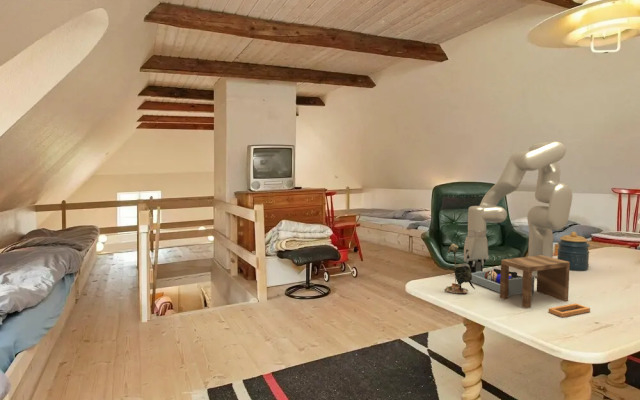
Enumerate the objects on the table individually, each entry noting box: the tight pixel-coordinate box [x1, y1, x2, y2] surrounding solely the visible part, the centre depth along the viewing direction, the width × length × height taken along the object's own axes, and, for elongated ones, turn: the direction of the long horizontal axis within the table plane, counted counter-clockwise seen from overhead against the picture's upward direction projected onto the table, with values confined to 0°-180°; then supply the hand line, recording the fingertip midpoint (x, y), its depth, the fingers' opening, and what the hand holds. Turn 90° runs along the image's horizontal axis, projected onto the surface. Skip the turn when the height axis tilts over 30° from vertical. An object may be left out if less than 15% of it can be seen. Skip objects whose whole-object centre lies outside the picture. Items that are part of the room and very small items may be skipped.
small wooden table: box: [499, 255, 570, 309], centre depth 142 cm, size 20×12×15 cm, turn 110°
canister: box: [556, 231, 591, 272], centre depth 185 cm, size 13×13×18 cm
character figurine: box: [485, 268, 523, 284], centre depth 156 cm, size 8×7×15 cm
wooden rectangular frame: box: [548, 303, 591, 318], centre depth 130 cm, size 13×5×1 cm, turn 110°
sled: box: [470, 260, 535, 297], centre depth 160 cm, size 13×26×7 cm, turn 20°
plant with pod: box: [444, 243, 476, 294], centre depth 151 cm, size 8×11×20 cm
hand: (475, 273), depth 171 cm, fingers closed on sled, 3 cm apart
